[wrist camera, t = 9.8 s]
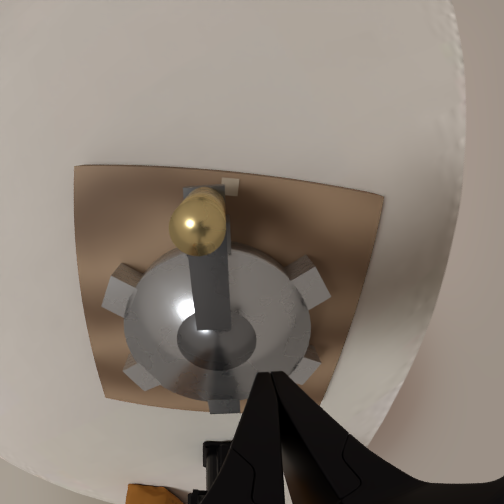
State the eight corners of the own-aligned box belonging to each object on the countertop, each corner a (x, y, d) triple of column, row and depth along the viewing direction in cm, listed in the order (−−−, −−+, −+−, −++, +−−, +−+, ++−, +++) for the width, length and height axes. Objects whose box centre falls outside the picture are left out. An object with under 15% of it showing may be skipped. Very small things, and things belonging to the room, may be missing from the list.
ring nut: (327, 179, 16) (386, 198, 10) (307, 387, 22) (329, 450, 16) (95, 191, 15) (30, 217, 9) (143, 394, 21) (129, 458, 14)
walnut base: (313, 399, 25) (317, 411, 23) (109, 386, 22) (105, 398, 21) (373, 193, 18) (384, 197, 17) (84, 164, 16) (73, 166, 14)
